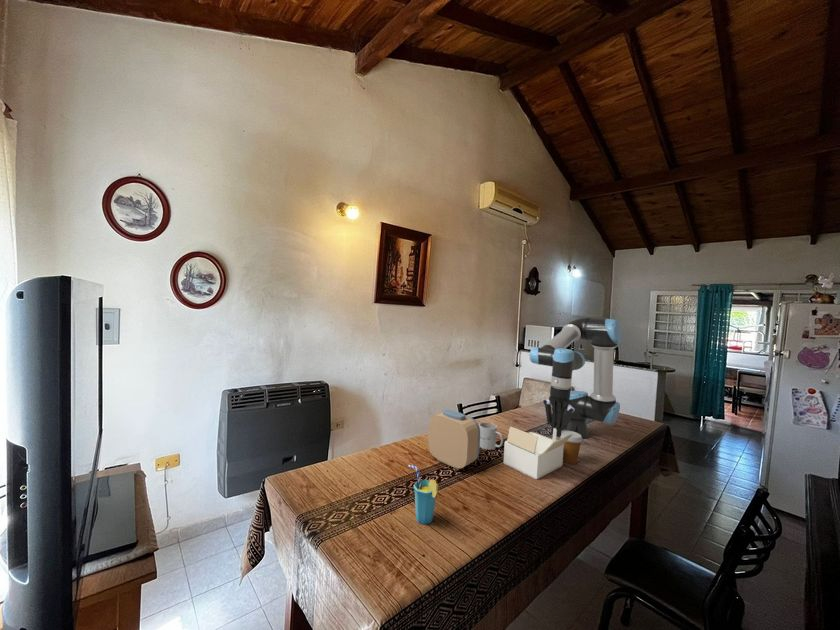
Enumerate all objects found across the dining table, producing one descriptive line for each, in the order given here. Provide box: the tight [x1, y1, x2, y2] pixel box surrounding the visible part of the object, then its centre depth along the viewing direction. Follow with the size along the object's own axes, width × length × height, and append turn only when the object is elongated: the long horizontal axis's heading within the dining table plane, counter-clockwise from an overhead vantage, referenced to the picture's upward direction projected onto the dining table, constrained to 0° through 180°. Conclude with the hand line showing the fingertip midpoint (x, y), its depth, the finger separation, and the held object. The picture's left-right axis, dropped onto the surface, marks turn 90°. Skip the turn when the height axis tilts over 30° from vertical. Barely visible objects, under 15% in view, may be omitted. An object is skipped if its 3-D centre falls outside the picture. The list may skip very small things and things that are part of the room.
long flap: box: [543, 434, 572, 454], centre depth 135 cm, size 15×7×1 cm
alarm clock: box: [427, 409, 481, 471], centre depth 142 cm, size 21×10×22 cm, turn 47°
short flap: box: [506, 425, 538, 453], centre depth 138 cm, size 6×13×1 cm
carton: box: [503, 431, 564, 481], centre depth 144 cm, size 21×17×10 cm
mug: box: [478, 421, 504, 451], centre depth 160 cm, size 12×9×10 cm
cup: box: [407, 464, 439, 525], centre depth 105 cm, size 14×8×15 cm, turn 46°
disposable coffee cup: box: [559, 431, 583, 465], centre depth 150 cm, size 10×10×12 cm
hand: (555, 443), depth 136 cm, fingers closed
